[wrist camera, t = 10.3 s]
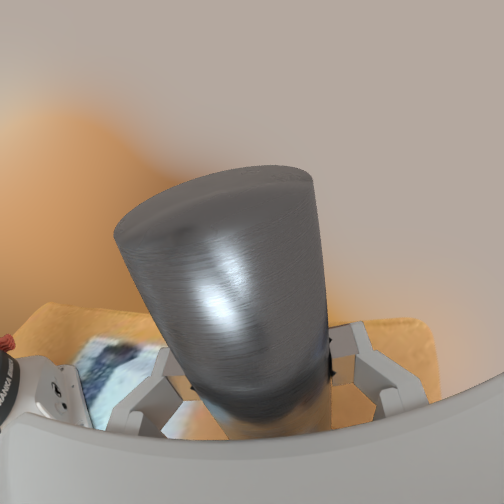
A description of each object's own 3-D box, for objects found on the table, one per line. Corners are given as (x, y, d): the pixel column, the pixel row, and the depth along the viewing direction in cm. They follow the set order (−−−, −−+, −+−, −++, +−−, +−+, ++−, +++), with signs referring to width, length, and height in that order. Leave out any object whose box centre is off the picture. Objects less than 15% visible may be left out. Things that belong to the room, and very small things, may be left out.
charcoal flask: (228, 461, 14) (81, 240, 7) (270, 399, 18) (198, 171, 10) (307, 493, 11) (239, 263, 4) (344, 421, 15) (337, 162, 8)
